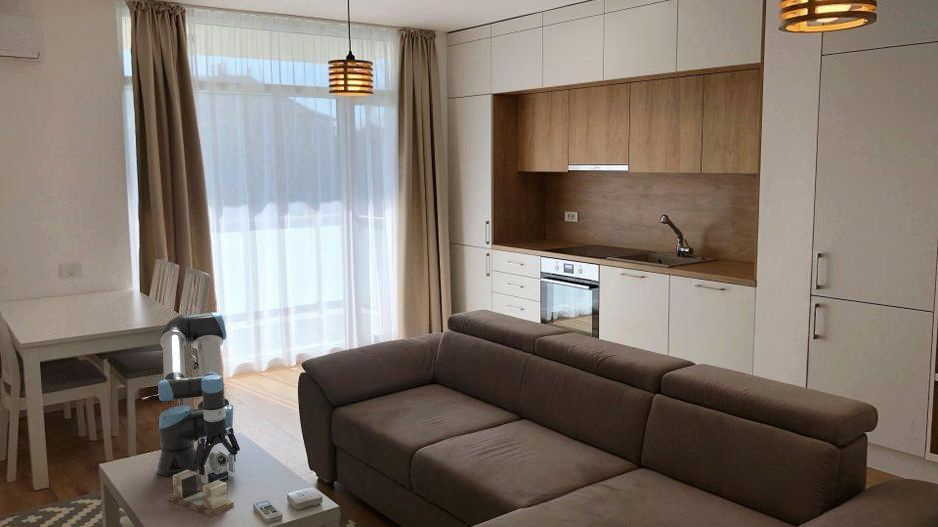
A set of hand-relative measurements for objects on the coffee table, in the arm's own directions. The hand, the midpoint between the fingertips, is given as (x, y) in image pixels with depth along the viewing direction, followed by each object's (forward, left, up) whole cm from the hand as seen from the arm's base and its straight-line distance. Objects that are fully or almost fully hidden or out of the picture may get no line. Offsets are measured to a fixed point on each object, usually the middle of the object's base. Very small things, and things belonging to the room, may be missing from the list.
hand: (218, 477), depth 282 cm
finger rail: (+10, -15, -2) cm, 18 cm away
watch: (0, 0, -2) cm, 2 cm away
